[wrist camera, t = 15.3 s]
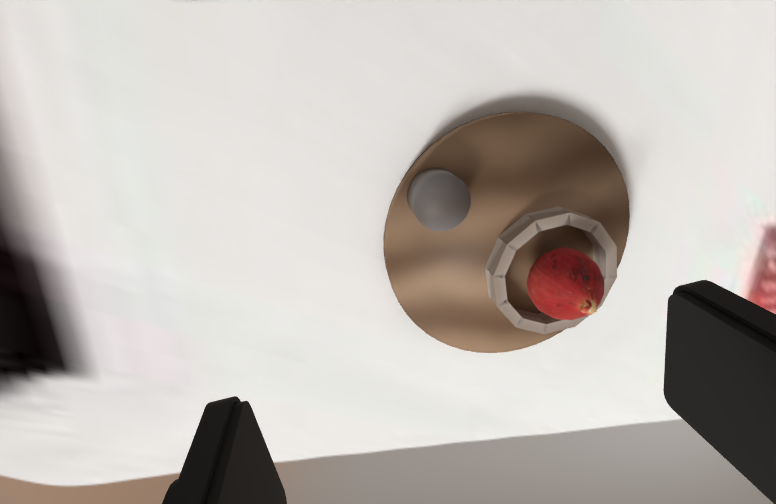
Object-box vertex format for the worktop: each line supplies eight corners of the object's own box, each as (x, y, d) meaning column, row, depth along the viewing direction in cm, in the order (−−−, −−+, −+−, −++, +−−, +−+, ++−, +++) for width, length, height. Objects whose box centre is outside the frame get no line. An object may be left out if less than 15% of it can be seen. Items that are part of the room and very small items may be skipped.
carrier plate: (358, 143, 35) (363, 151, 31) (619, 86, 36) (657, 86, 32) (407, 367, 43) (416, 397, 39) (618, 314, 44) (649, 338, 40)
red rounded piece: (522, 232, 38) (569, 267, 31) (582, 239, 39) (642, 275, 32) (505, 292, 40) (546, 339, 33) (563, 298, 41) (615, 345, 34)
